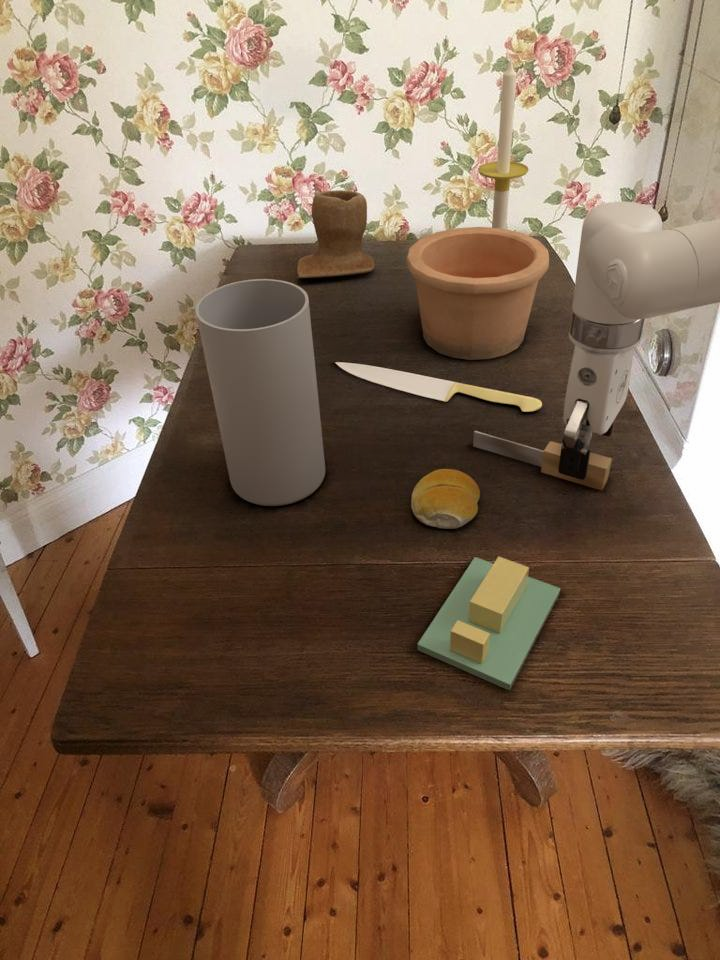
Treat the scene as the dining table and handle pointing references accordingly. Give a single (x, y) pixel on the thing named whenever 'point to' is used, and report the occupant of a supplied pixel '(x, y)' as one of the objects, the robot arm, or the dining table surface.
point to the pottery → (476, 289)
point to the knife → (435, 386)
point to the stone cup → (337, 236)
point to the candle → (504, 152)
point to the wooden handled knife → (546, 458)
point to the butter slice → (469, 641)
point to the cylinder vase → (264, 388)
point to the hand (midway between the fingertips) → (585, 453)
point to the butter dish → (498, 644)
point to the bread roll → (445, 499)
